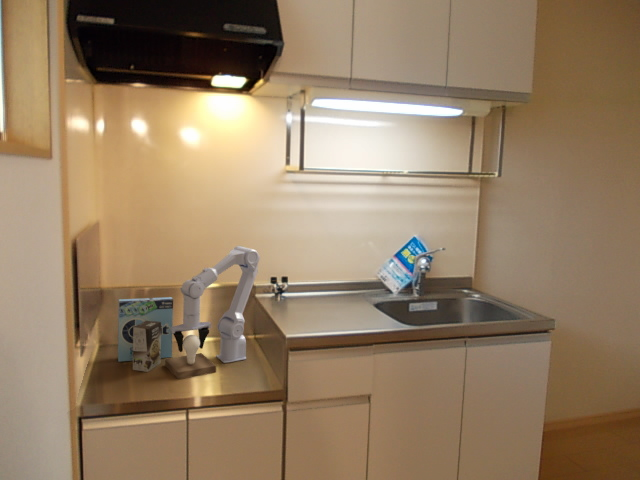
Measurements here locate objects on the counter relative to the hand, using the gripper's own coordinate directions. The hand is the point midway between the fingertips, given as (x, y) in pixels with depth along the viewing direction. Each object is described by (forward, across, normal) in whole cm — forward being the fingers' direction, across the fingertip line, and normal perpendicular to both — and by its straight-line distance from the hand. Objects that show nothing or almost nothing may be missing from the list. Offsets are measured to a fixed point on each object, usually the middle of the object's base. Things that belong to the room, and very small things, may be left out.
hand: (190, 349), depth 184 cm
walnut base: (+8, 0, 0) cm, 8 cm away
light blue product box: (+8, -11, +18) cm, 22 cm away
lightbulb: (+5, 0, -2) cm, 5 cm away
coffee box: (+8, -13, +9) cm, 18 cm away
